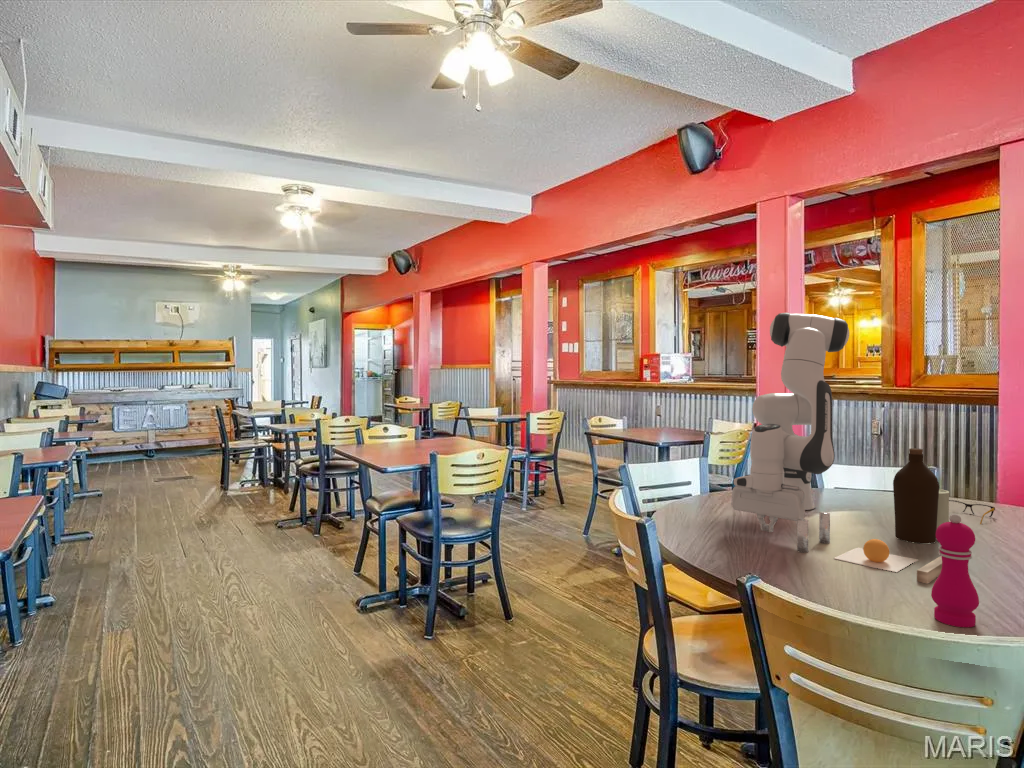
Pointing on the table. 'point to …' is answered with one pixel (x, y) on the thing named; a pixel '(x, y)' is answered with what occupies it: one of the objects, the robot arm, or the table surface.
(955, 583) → the pepper mill
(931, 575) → the wall
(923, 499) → the olive oil
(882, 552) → the ball
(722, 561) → the table surface
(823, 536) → the post
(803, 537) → the post
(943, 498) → the can
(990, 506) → the eyeglasses
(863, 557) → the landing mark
